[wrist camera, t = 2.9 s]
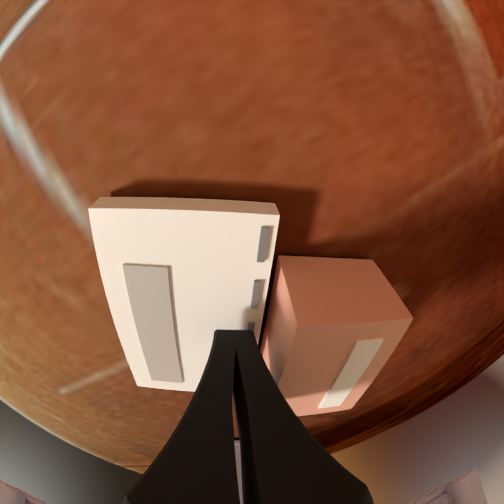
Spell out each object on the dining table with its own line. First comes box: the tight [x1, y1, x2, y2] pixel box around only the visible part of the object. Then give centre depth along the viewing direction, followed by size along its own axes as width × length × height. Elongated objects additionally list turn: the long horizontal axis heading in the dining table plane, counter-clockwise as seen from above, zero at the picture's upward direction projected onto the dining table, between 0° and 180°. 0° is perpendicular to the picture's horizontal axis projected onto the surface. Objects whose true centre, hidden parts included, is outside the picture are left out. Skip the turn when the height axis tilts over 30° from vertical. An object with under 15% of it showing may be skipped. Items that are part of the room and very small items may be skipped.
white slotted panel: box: [88, 197, 280, 392], centre depth 11 cm, size 10×6×1 cm, turn 175°
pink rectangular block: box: [260, 255, 413, 416], centre depth 10 cm, size 6×4×4 cm, turn 174°
